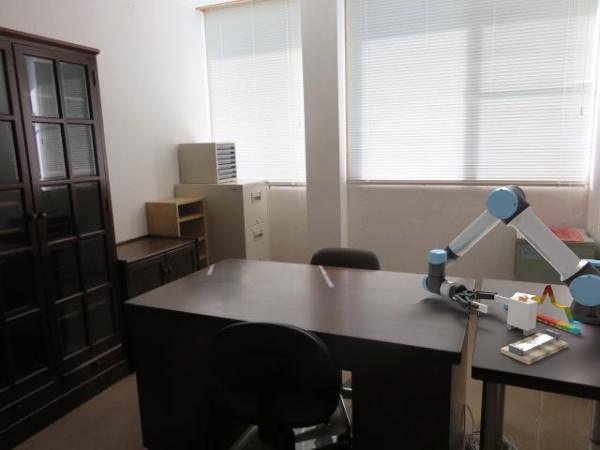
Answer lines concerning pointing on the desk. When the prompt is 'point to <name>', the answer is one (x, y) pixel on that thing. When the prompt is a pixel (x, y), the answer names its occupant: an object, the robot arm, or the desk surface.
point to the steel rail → (534, 343)
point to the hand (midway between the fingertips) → (498, 305)
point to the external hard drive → (523, 295)
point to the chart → (549, 320)
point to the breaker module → (522, 314)
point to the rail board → (536, 350)
